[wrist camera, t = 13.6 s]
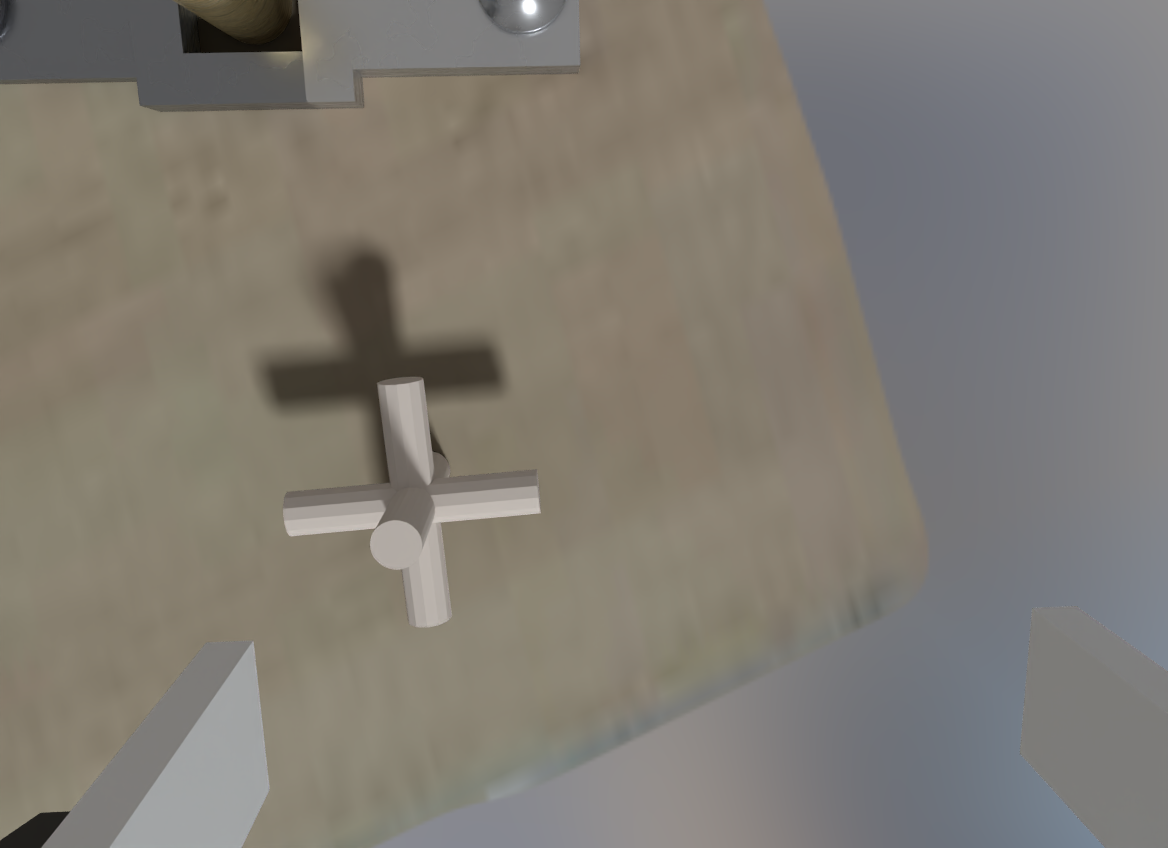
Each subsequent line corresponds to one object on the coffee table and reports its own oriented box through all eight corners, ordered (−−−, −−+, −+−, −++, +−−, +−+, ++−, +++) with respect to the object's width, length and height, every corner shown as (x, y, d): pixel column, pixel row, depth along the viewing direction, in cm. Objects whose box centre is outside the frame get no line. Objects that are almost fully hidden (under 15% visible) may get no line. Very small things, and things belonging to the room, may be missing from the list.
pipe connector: (304, 372, 41) (229, 418, 31) (528, 352, 41) (524, 392, 31) (335, 583, 43) (274, 689, 33) (548, 563, 43) (550, 662, 33)
